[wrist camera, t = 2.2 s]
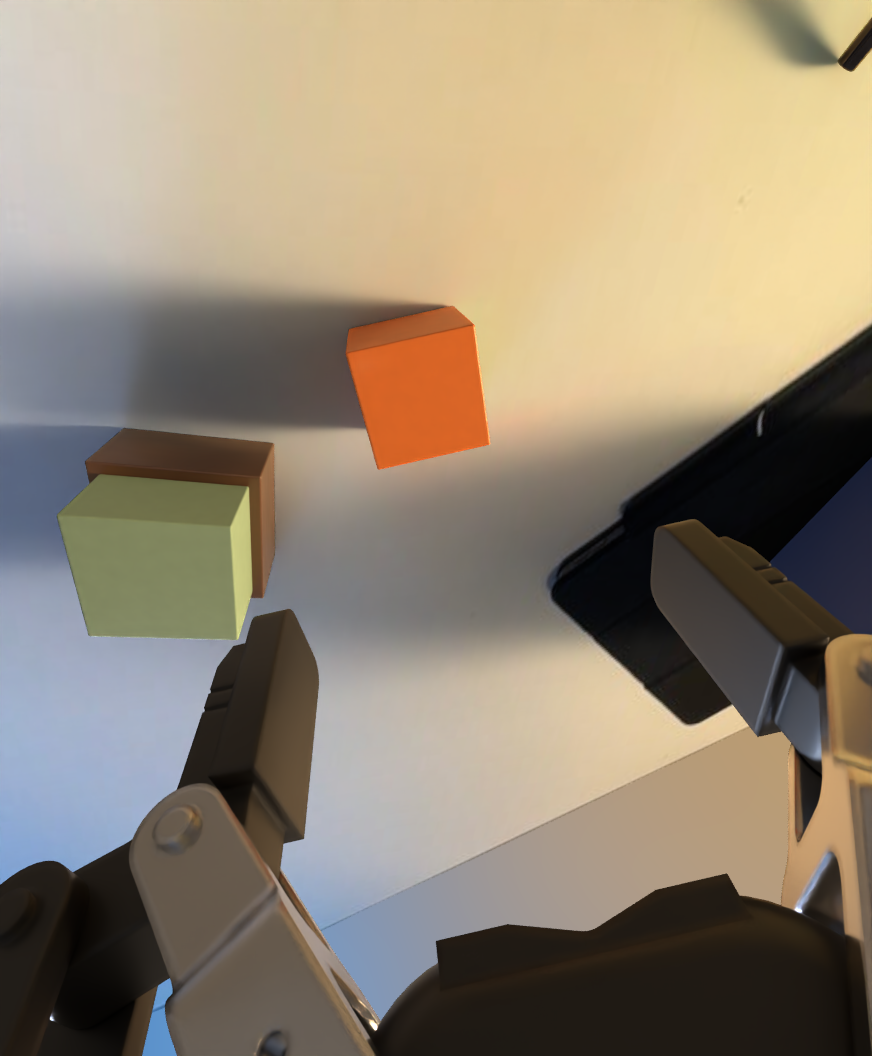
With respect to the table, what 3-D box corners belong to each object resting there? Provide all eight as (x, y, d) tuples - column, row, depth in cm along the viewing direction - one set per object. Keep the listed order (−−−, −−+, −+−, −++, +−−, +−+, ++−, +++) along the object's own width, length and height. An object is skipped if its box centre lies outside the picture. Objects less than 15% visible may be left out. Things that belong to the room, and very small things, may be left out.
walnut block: (143, 547, 27) (112, 592, 24) (123, 427, 23) (83, 461, 20) (275, 555, 28) (263, 599, 25) (274, 442, 25) (260, 476, 21)
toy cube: (375, 429, 25) (377, 470, 21) (348, 328, 22) (345, 352, 18) (469, 408, 25) (490, 445, 21) (453, 305, 23) (474, 323, 18)
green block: (122, 585, 23) (88, 637, 21) (99, 473, 20) (55, 514, 18) (252, 591, 25) (238, 640, 22) (249, 486, 22) (231, 526, 19)
